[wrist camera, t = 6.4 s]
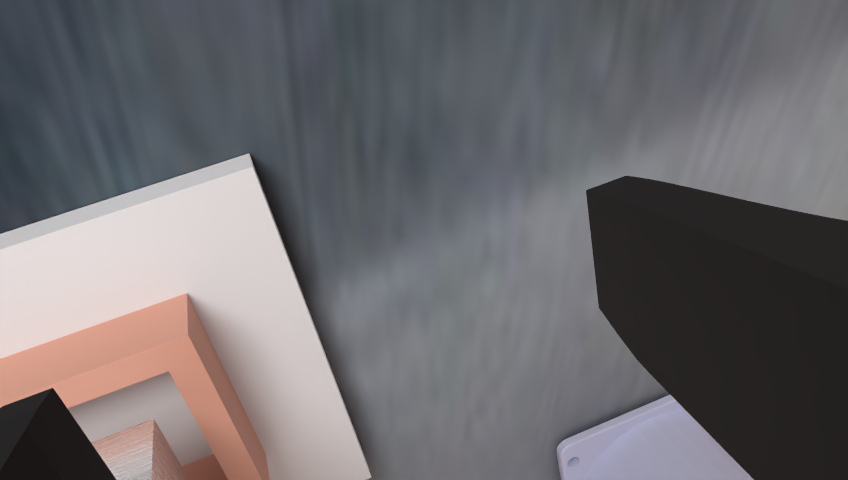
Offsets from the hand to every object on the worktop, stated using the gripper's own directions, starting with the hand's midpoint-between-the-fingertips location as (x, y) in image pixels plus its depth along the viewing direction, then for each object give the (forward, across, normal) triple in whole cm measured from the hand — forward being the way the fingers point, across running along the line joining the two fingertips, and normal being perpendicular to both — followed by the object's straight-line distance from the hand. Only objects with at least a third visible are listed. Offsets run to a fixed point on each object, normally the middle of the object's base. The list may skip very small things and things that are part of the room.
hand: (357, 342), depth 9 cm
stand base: (+10, +7, +7) cm, 14 cm away
